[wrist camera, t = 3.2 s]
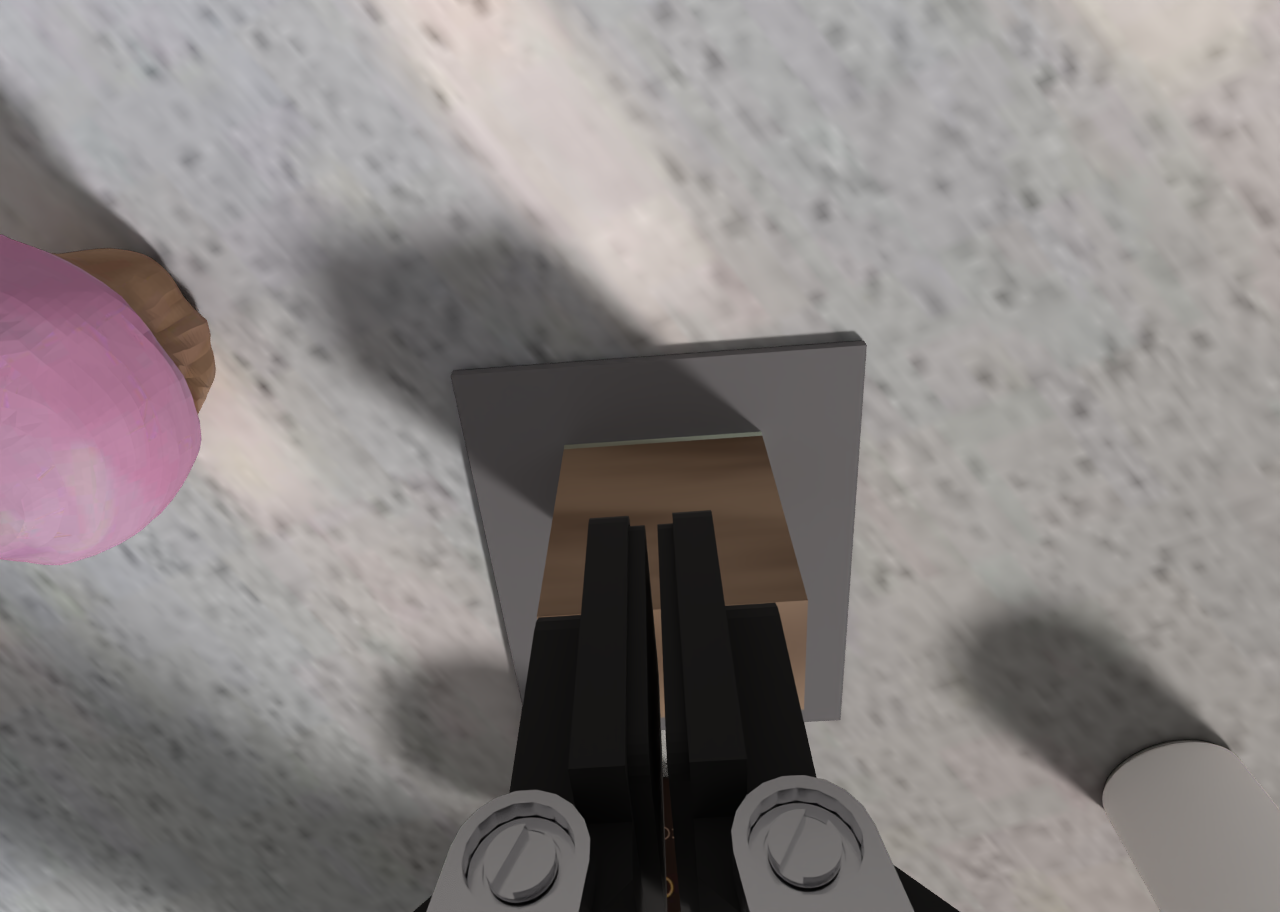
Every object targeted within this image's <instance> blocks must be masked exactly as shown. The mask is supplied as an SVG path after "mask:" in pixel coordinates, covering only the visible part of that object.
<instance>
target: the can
mask: <svg viewBox="0 0 1280 912" xmlns="http://www.w3.org/2000/svg"><path fill="white" fill-rule="evenodd" d="M1102 801H1103V807H1104V810H1105V812H1106V814H1107V816H1108V818H1109V820H1110V822H1111V824H1112V826H1113V827H1114V829H1115V831H1116V833H1117V835H1118V836H1119V838H1120V840H1121V842H1122V844H1123V845H1124V847H1125V849H1126V851H1127V853H1128V854H1129V856H1130V858H1131V860H1132V862H1133V863H1134V865H1135V867H1136V869H1137V870H1138V872H1139V874H1140V876H1141V878H1142V879H1143V881H1144V883H1145V885H1146V886H1147V888H1148V890H1149V892H1150V894H1151V895H1152V897H1153V899H1154V901H1155V902H1156V904H1157V906H1158V908H1159V910H1160V911H1161V912H1280V809H1279V808H1278V806H1277V805H1276V804H1275V803H1274V801H1273V800H1272V799H1271V798H1270V796H1269V795H1268V794H1267V792H1266V791H1265V790H1264V789H1263V787H1262V786H1261V785H1260V784H1259V782H1258V781H1257V780H1256V779H1255V777H1254V776H1253V775H1252V774H1251V772H1250V771H1249V770H1248V768H1247V767H1246V766H1245V765H1244V764H1243V762H1242V761H1241V760H1240V759H1239V758H1238V757H1237V756H1236V755H1235V754H1234V753H1233V752H1232V751H1230V750H1228V749H1226V748H1224V747H1221V746H1218V745H1215V744H1212V743H1209V742H1205V741H1199V740H1177V741H1170V742H1165V743H1161V744H1157V745H1154V746H1151V747H1149V748H1146V749H1144V750H1142V751H1139V752H1138V753H1136V754H1134V755H1132V756H1131V757H1129V758H1128V759H1126V760H1125V761H1123V762H1122V763H1121V764H1120V765H1119V766H1118V767H1117V768H1116V769H1115V770H1114V771H1113V772H1112V773H1111V774H1110V776H1109V777H1108V779H1107V781H1106V784H1105V788H1104V791H1103V797H1102Z"/></svg>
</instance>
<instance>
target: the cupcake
mask: <svg viewBox="0 0 1280 912" xmlns="http://www.w3.org/2000/svg"><path fill="white" fill-rule="evenodd" d="M215 370H216V367H215V360H214V355H213V351H212V348H211V344H210V330H209V327H208V323H207V320H206V319H205V318H204V317H203V316H201V315H200V314H199V313H198V312H197V311H196V310H195V309H194V308H193V307H192V306H191V305H190V304H189V302H188V301H187V300H186V299H185V298H184V297H183V295H182V293H181V291H180V290H179V288H178V286H177V284H176V283H175V281H174V280H173V278H172V277H171V276H170V275H169V273H168V272H167V271H166V270H165V269H164V268H163V267H162V266H161V265H160V264H158V263H157V262H156V261H154V260H153V259H152V258H150V257H148V256H146V255H144V254H141V253H138V252H133V251H129V250H122V249H112V248H104V249H92V250H83V251H76V252H69V253H62V254H53V253H49V252H46V251H43V250H41V249H38V248H35V247H32V246H29V245H27V244H24V243H21V242H18V241H15V240H12V239H10V238H8V237H6V236H4V235H1V234H0V559H3V560H12V561H21V562H29V563H36V564H43V565H62V564H67V563H71V562H75V561H78V560H81V559H84V558H88V557H91V556H94V555H97V554H99V553H101V552H103V551H105V550H108V549H110V548H112V547H114V546H116V545H119V544H120V543H122V542H124V541H125V540H127V539H129V538H131V537H132V536H134V535H135V534H137V533H138V532H140V531H141V530H142V529H144V528H145V527H146V526H147V525H148V524H149V523H150V522H151V521H152V520H153V519H154V518H156V517H157V516H158V515H159V514H160V513H161V512H162V511H163V510H164V509H165V508H166V507H167V505H168V504H169V503H170V502H171V501H172V500H173V498H174V497H175V495H176V494H177V492H178V491H179V489H180V488H181V487H182V485H183V483H184V481H185V480H186V478H187V476H188V474H189V472H190V470H191V468H192V466H193V464H194V462H195V460H196V457H197V455H198V453H199V449H200V444H201V430H200V421H199V418H198V413H199V411H200V409H201V407H202V405H203V403H204V401H205V399H206V397H207V394H208V392H209V389H210V387H211V385H212V383H213V380H214V377H215Z"/></svg>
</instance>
